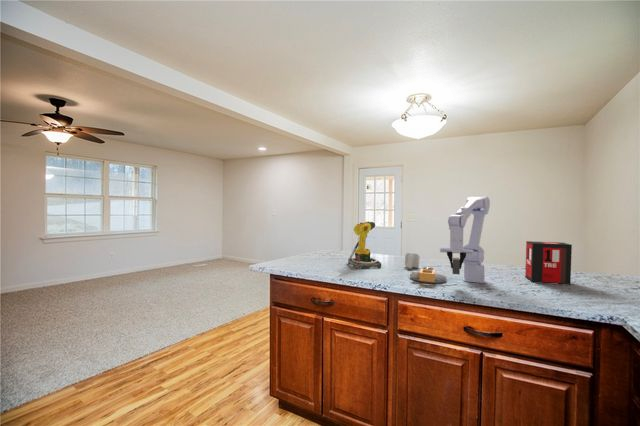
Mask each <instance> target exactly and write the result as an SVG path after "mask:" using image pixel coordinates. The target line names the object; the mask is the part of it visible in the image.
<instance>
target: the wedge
mask: <svg viewBox="0 0 640 426" xmlns="http://www.w3.org/2000/svg"><path fill="white" fill-rule="evenodd" d="M452 263H453V268H451V269H452V275H460V273H461V269H460V257H453V258H452Z"/></svg>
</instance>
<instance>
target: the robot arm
mask: <svg viewBox="0 0 640 426" xmlns="http://www.w3.org/2000/svg"><path fill="white" fill-rule="evenodd" d="M490 201H491V200H490V198H489V196H468V197H467V198H466V204H465V205H464V206H461V207H460V208H459V209H458V210H457V211H456V212H455V213H454V214H451V215H450V216H448V218H447V224H448V229H449V231H450V233H449V234H450V235H449V237H450V238H449V247H440V248H439V253H446V255H447V258H448V259H449V264H450V269H452V268H453V258H454V255H453V254H459V258H460V270H462V266H463V277H462V281H463V282H469V283H479V284H480V283H481V284H485V279H486V276H485V264H483V262H484V261H485V256H484V255H485V251H484V249H483V248H482V247H481V246H480V243H481V238H482V237H481V236H482V232H483V228H484V227H483V226H484V221H485V216H486V215H488V214H489V211H490V210H489V209H490V205H491V202H490ZM471 215H473V220H472V225H471V230H470V235H469V239H468V243H467V244H465V245H464V227H466V224H467V221H468V219H469V218H470V216H471Z"/></svg>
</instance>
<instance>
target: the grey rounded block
mask: <svg viewBox="0 0 640 426" xmlns="http://www.w3.org/2000/svg"><path fill="white" fill-rule="evenodd" d="M404 257H405V258H404V266H405V267H406V269H407V270H413V268H417V269H418V268H419V267H420V255H419V254H418V253H410V252H409V253H405V256H404Z"/></svg>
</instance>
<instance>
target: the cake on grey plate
mask: <svg viewBox="0 0 640 426" xmlns="http://www.w3.org/2000/svg"><path fill="white" fill-rule="evenodd" d="M422 269H426V270H434V267H432V266H423V268H422ZM409 275H410V276H409V279H411V281H414V282H417V283H422V284H431V285H432V284H433V285H435V284H438V283H439V284H443V283H444V282H445V283H446V282H447V277H446V276H445V275H443V274H439V273H435V281H434V282H428V281H419V278H418V277H412V273H410V274H409Z"/></svg>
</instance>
